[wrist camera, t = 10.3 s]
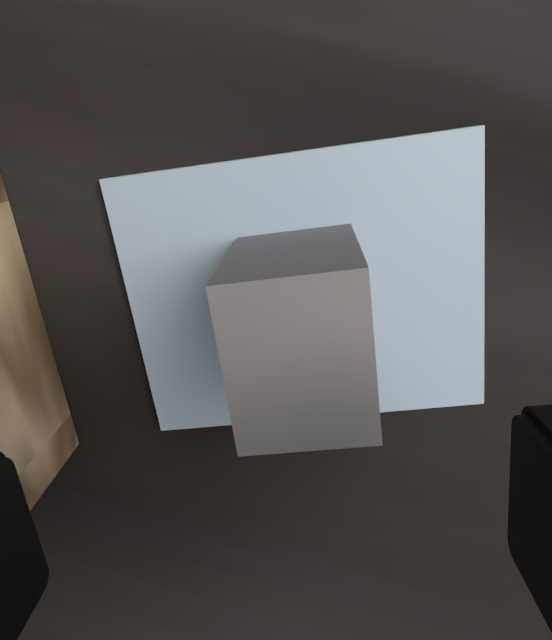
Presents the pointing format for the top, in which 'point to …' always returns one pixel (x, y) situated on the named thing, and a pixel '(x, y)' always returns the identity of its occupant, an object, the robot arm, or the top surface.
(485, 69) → the top surface
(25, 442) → the beech box
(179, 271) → the cover plate
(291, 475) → the top surface
